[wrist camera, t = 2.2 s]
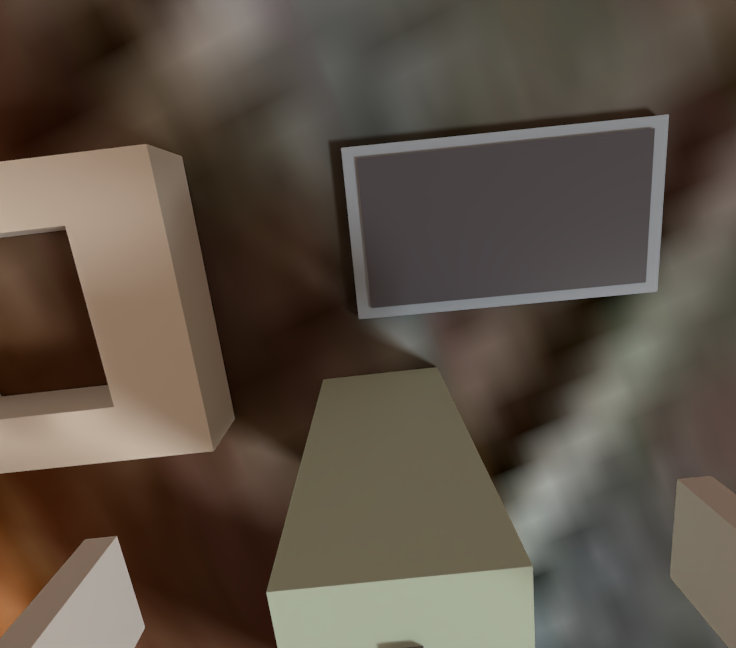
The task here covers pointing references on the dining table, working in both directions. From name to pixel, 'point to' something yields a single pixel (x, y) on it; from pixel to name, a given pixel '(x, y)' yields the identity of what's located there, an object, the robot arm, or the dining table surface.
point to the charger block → (397, 528)
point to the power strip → (121, 311)
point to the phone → (506, 216)
